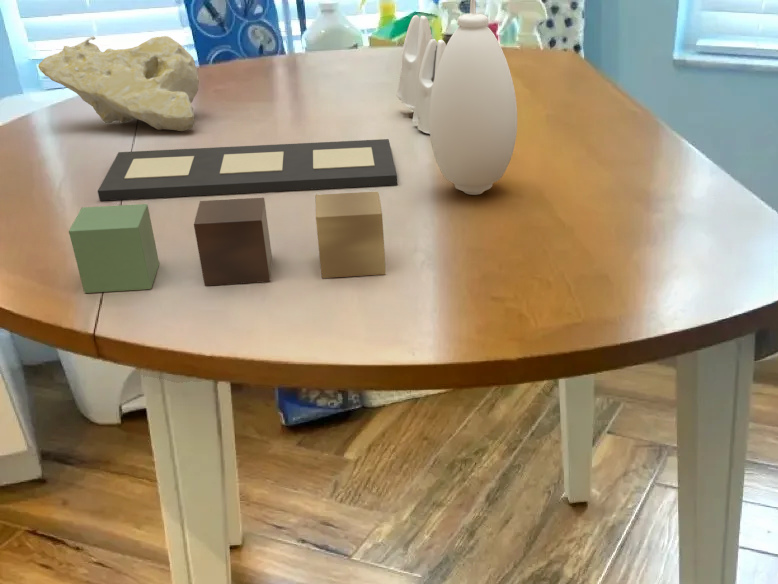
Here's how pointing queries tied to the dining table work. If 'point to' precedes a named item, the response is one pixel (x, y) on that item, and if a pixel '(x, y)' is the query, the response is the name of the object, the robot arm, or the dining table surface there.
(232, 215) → the walnut block
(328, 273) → the maple block
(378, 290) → the dining table surface
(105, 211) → the green block
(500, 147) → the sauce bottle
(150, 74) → the beige rock
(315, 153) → the word board
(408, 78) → the shaker set
